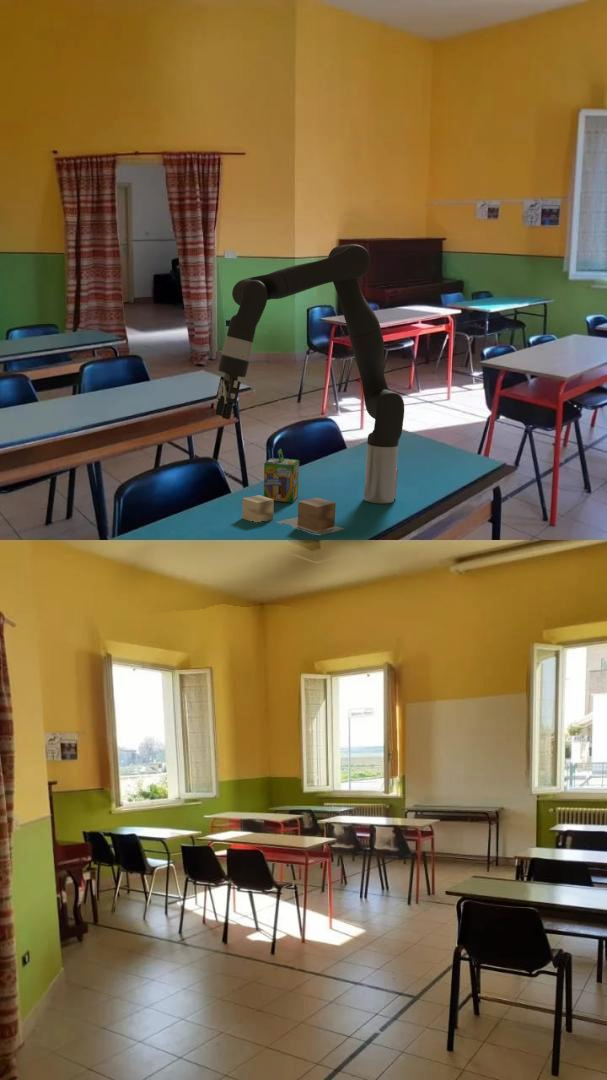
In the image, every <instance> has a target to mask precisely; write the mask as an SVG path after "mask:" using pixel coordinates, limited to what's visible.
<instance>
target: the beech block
mask: <svg viewBox="0 0 607 1080" xmlns="http://www.w3.org/2000/svg"><path fill="white" fill-rule="evenodd" d="M274 502H275V501H274V499H270V498H267V497H264V495H260V494H257V495H253V496H248V497H243V498H242V514H241V515H242V518H241V519H243V520H246V521H250V522H252V521H254V522H253V523H255V522H260V523H262V522H261V521H265V522H268V521H273V520H274V505H275V503H274Z"/></svg>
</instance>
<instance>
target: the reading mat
mask: <svg viewBox="0 0 607 1080" xmlns="http://www.w3.org/2000/svg"><path fill="white" fill-rule="evenodd" d="M276 522H277V523H276V524H278V523H279V524H278V525H281V524H282V523H285V524H289V525H291V526H292V527H293V528H292V529H294V528H295V529H294V530H296V528H298V529H299V530H305V531H307V532H310V533H313V534H314V533H315V532H312V531H309V530H306V529H303V528H300V527H297V524H298V516H296V517H290V518H287V519H283V520H282V519H281V520H278V521H276ZM299 530H298V531H299ZM341 530H345V528H343V527H340V526H336V525H335V527H334V528H333V529H329V530H325V531H321V532H317V533H315V534H323V535H326V534H330V533H334V532H338V531H341Z"/></svg>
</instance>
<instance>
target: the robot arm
mask: <svg viewBox="0 0 607 1080" xmlns="http://www.w3.org/2000/svg"><path fill="white" fill-rule="evenodd" d="M371 261H372V260H371V256H370V253H369V251H368V250H367V249H366V248H365V247H364V246H362V245H359V244H353V243H351V244H350V243H349V244H344V245H338V246H337V245H336V246H335V247H333V248H332V249H331V250H330V252H329V253H328V256H327V257H326V258H323V259H320V260H316V261H311V262H307V263H301V264H300V263H299V264H295V265H292V266H288V267H285V268H282V269H277V270H276V271H275V270H274V271H273V272H270V273H267V274H261V275H257V276H256V275H255V276H251V277H248V278H244V279H241V280H239V281H237V282H236V283H235V285H234V286H233V288H232V291H231V292H232V293H231V294H232V295H231V296H232V300H233V301H234V303H235V304H237V306H239V307H238V310H237V313H236V314H235V315H233V316H232V317H231V318H230V321H229V323H228V324H229V325H228V328H227V331H226V332H227V333H226V336H225V341H224V343H223V345H222V352H221V356H220V359H219V365H218V368H217V369H218V372H220V373H224V376H223V375H221V376H220V379H219V382H218V388H217V391H216V396H215V397H216V400H217V403H216V407H215V411H214V414H215V415H216V416H220V417H221V418H222V419H225V420H230V419H231V416H232V412H233V407H234V406H235V405H236V404H237V403H238V396H239V392H240V387H241V385H242V384H241V380H239V377H240V378H246V377H247V372H248V369H249V366H250V365H249V364H250V361H251V356H252V351H253V350H252V349H253V343H254V339H255V334H256V330H257V329H256V328H257V325H258V324H259V322H260V320H261V318H262V316H263V314H264V311H265V308H266V305H267V302H268V300H279V299H283V298H288V297H290V296H292V295H296V294H300V293H302V292H304V291H307V290H310V289H313V288H316V287H319V286H323V285H326V284H329V283H333V286H334V288H335V291H336V294H337V296H338V299H339V302H340V306H341V309H342V313H343V317H344V321H345V326H346V328H347V333H348V337H349V341H350V343H351V344H350V345H351V349H352V351H353V355H354V358H355V359H354V360H355V361H356V366H357V368H358V372H359V376H360V381H361V386H362V391H363V400H364V405H365V409H366V412H367V413H368V415H369V416H370V417H371V418H372V419H374V425H373V426H374V427H373V430H372V432H370V433H369V434H368V435H367V444H366V461H365V462H366V463H365V473H364V474H365V475H364V476H365V477H364V487H363V488H364V490H363V500H364V501H366V502H369V503H371V504H372V503H374V504H391V503H393V502H394V501H395V500H394V499H397V491H398V490H397V488H398V475H399V469H398V468H397V465H398V454H399V453H398V452H399V441H400V438H401V436H402V434H403V433H402V432H403V426H404V420H405V419H404V418H405V402H404V399H403V397H402V396H401V395H400V393H398V392H395V391H392V390H389V388H388V387H389V386H388V385H387V381H386V377H385V374H384V367H383V366H384V355H385V341H384V336H383V333H382V329H381V325H380V322H379V319H378V316H377V315H376V314H375V312H374V310H373V309H372V307H371V306H370V304H369V303H368V301H367V300H366V298H365V296H364V294H363V292H362V289H361V285H360V281H359V279H361V278H362V277H364V276H365V275H366V274H367V273H368V271H369V270H370V266H371Z"/></svg>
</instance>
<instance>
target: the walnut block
mask: <svg viewBox="0 0 607 1080" xmlns="http://www.w3.org/2000/svg"><path fill="white" fill-rule="evenodd" d="M297 502H298V503H297V517H298V524H297V527H300V528H303V529H306V530H309V531H312V532H315V533H317V532H321V531H325V530H329V529H333V528H334V527H335V526H336V525H335V524H336V523H335V522H336V508H337V506H336V504H337V503H336V502H333V501H330V500H328V499H327V500H326V499H324V498H320V497H312V498H308V499H303V500H299V501H297Z"/></svg>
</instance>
